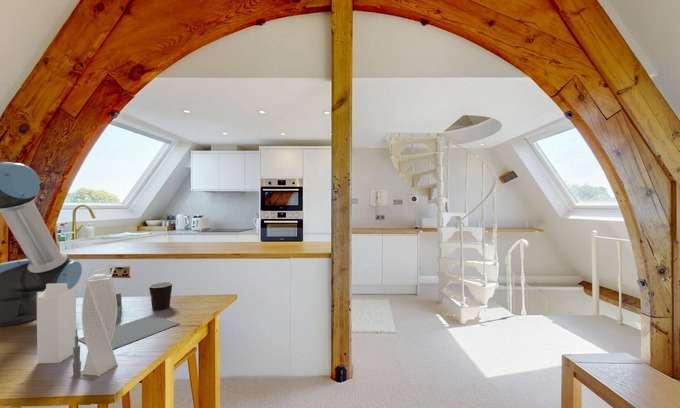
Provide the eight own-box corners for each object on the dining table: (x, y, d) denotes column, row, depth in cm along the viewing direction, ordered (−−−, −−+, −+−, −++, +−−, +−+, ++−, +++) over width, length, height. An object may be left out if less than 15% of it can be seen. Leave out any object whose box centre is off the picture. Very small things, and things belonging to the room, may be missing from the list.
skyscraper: (101, 361, 85) (100, 265, 85) (125, 363, 84) (124, 266, 84) (70, 378, 77) (69, 272, 77) (97, 381, 76) (95, 273, 76)
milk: (56, 353, 90) (55, 280, 90) (77, 352, 90) (76, 280, 90) (36, 364, 84) (35, 286, 84) (59, 363, 84) (58, 286, 84)
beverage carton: (95, 326, 110) (94, 308, 109) (98, 311, 125) (98, 295, 125) (121, 321, 114) (121, 304, 114) (121, 307, 130) (121, 292, 130)
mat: (77, 340, 98) (77, 339, 98) (152, 315, 119) (152, 314, 119) (103, 353, 89) (103, 352, 89) (179, 324, 111) (179, 323, 111)
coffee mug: (169, 310, 125) (169, 286, 125) (146, 312, 122) (145, 288, 122) (176, 301, 136) (176, 279, 136) (155, 303, 134) (155, 281, 134)
